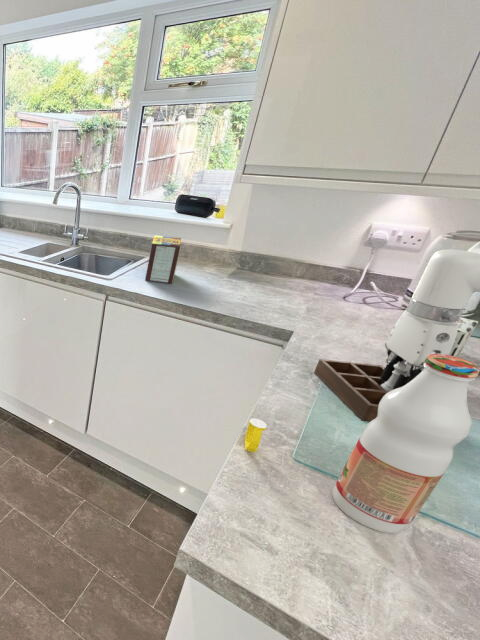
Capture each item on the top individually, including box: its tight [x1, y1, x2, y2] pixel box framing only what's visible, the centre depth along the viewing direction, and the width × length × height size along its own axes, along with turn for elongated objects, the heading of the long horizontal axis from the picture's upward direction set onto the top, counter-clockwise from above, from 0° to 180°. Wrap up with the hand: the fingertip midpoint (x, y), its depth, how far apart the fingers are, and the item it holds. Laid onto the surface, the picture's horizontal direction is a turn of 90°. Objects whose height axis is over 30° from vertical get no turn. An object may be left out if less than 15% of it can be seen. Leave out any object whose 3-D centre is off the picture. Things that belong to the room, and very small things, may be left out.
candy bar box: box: [413, 316, 479, 370], centre depth 98 cm, size 11×5×16 cm, turn 122°
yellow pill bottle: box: [244, 418, 268, 453], centre depth 79 cm, size 6×3×6 cm, turn 150°
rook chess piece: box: [380, 362, 414, 391], centre depth 92 cm, size 4×4×8 cm
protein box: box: [144, 234, 182, 285], centre depth 170 cm, size 10×15×16 cm
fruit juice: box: [332, 354, 480, 534], centre depth 61 cm, size 9×9×28 cm
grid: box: [313, 358, 390, 423], centre depth 94 cm, size 13×20×4 cm
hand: (395, 384), depth 93 cm, fingers closed on rook chess piece, 3 cm apart
